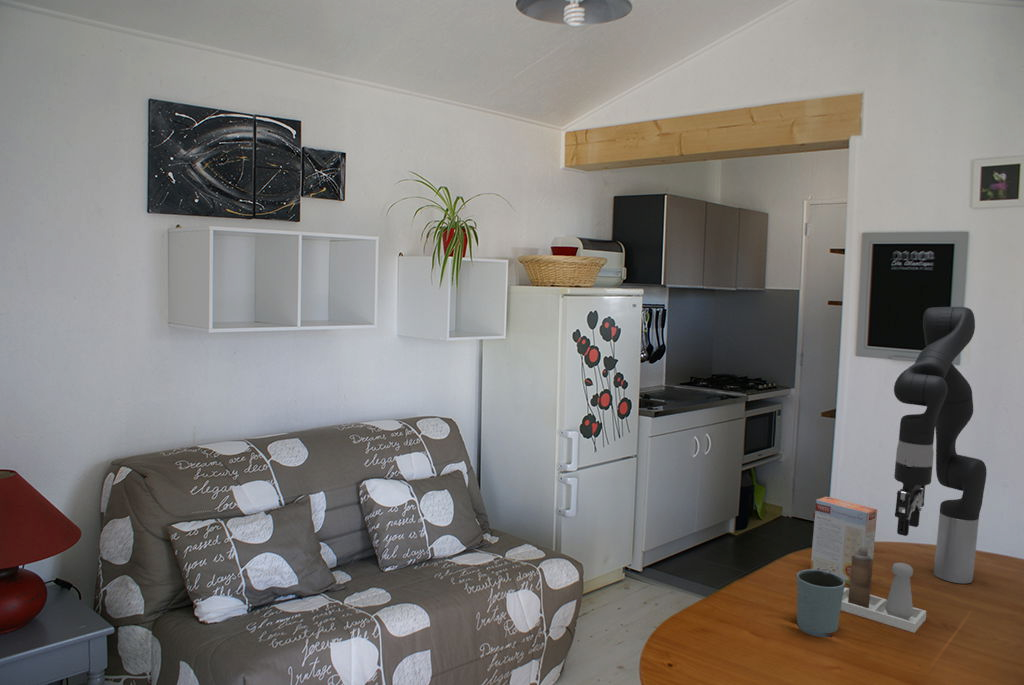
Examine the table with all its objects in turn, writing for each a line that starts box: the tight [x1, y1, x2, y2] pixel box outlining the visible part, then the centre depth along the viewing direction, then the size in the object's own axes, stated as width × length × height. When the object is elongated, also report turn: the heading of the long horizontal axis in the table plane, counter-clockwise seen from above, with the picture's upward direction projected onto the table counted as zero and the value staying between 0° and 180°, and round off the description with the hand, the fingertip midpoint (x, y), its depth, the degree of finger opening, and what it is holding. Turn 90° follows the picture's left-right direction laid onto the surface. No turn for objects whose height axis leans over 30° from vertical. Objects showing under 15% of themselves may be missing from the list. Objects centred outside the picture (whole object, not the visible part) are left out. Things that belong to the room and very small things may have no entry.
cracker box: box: [810, 496, 878, 586], centre depth 207 cm, size 14×6×21 cm, turn 40°
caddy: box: [840, 587, 927, 634], centre depth 186 cm, size 10×18×3 cm, turn 49°
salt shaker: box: [885, 562, 914, 620], centre depth 183 cm, size 6×6×13 cm
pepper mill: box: [848, 547, 874, 609], centre depth 189 cm, size 5×5×15 cm
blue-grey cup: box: [796, 568, 846, 638], centre depth 178 cm, size 10×10×12 cm
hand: (907, 530), depth 182 cm, fingers open, 8 cm apart
